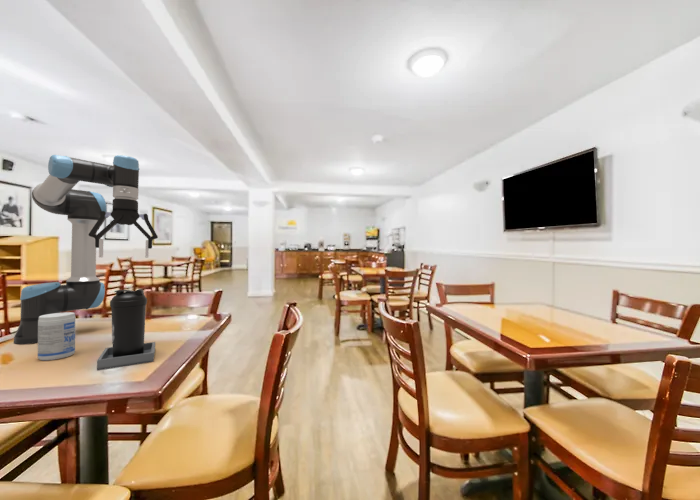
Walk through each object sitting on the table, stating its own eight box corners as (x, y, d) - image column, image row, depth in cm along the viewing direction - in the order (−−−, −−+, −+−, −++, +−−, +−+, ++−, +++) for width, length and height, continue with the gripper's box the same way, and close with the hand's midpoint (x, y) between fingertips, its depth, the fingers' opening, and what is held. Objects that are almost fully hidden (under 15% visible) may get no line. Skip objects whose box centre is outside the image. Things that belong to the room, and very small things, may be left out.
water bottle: (114, 354, 106) (115, 288, 107) (149, 351, 110) (149, 287, 111) (105, 364, 97) (105, 292, 97) (143, 360, 101) (143, 290, 101)
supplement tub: (72, 358, 105) (72, 315, 105) (33, 363, 100) (33, 318, 100) (77, 350, 113) (78, 310, 113) (42, 355, 108) (42, 313, 108)
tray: (105, 356, 106) (105, 347, 106) (155, 349, 114) (155, 341, 114) (96, 370, 94) (97, 360, 94) (153, 361, 101) (153, 352, 101)
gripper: (78, 194, 102) (77, 257, 102) (165, 201, 115) (164, 257, 115) (83, 197, 109) (82, 256, 109) (165, 203, 121) (164, 257, 121)
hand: (124, 257), depth 112 cm, fingers open, 13 cm apart
